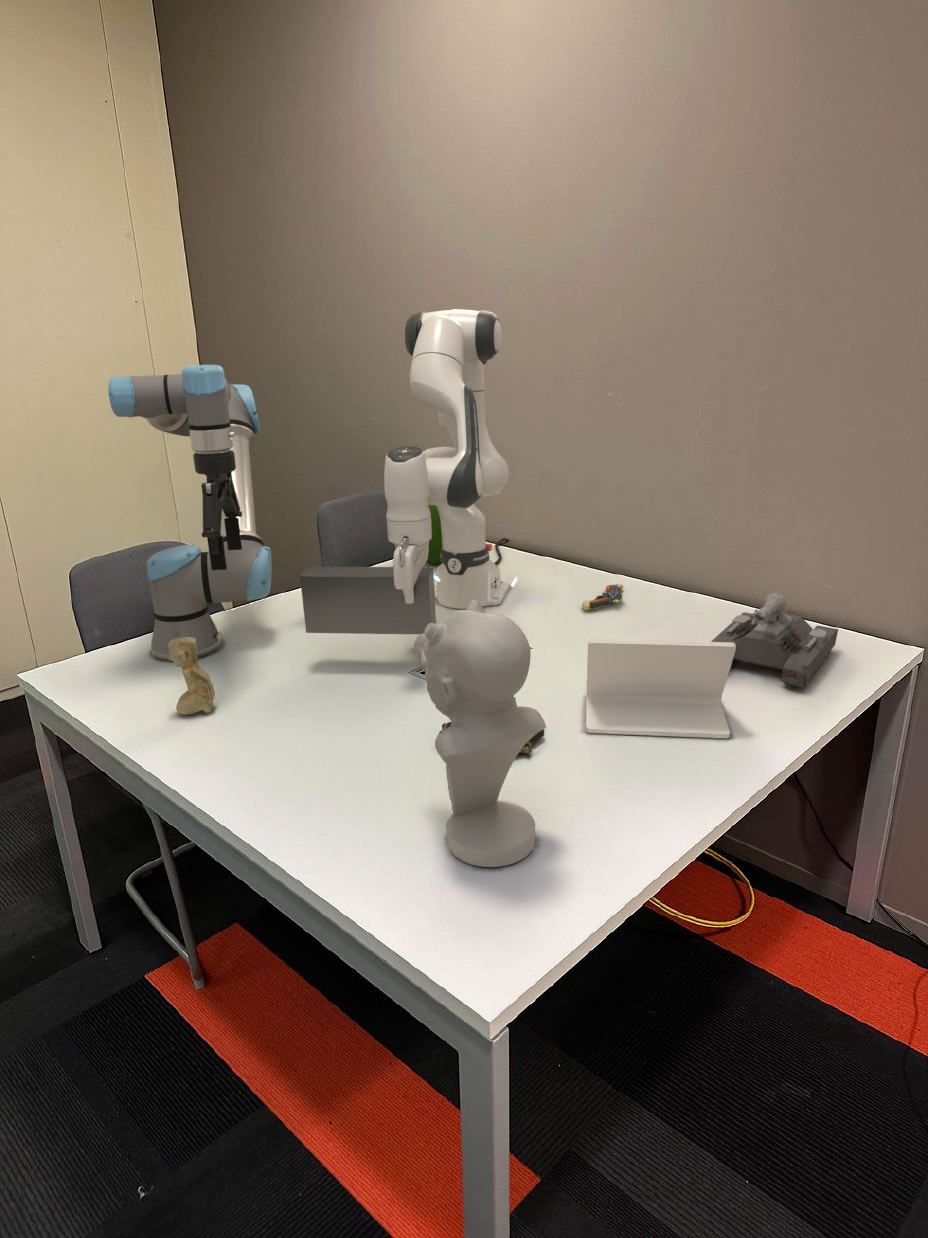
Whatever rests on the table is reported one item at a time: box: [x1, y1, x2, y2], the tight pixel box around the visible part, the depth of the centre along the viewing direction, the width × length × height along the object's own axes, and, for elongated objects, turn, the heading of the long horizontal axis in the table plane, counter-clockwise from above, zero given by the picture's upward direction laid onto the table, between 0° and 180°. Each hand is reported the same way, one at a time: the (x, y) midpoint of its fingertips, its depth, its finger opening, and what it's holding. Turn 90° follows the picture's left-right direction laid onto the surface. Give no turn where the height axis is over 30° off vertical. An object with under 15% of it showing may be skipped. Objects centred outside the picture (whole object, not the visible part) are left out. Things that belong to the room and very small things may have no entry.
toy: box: [710, 592, 839, 689], centre depth 177 cm, size 25×20×15 cm
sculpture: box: [168, 637, 216, 716], centre depth 162 cm, size 6×7×15 cm
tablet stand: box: [585, 638, 736, 739], centre depth 156 cm, size 18×25×17 cm
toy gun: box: [581, 583, 624, 611], centre depth 217 cm, size 3×19×10 cm
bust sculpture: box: [410, 600, 547, 868], centre depth 121 cm, size 16×24×35 cm
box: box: [299, 566, 437, 635], centre depth 176 cm, size 26×6×12 cm, turn 83°
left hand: (227, 559), depth 168 cm, fingers open, 13 cm apart
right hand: (413, 595), depth 175 cm, fingers closed on box, 6 cm apart
